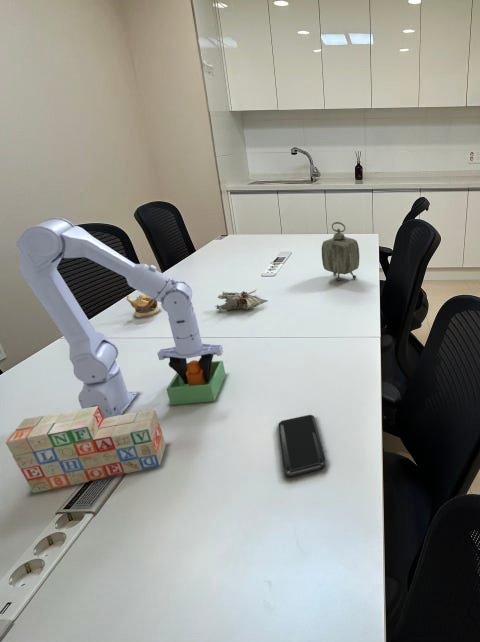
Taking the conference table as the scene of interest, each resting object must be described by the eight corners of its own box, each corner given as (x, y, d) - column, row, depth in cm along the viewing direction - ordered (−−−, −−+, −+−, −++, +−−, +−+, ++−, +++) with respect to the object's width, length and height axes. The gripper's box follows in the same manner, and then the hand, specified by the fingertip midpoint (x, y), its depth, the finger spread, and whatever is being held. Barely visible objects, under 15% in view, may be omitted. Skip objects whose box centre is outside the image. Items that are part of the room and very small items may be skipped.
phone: (284, 474, 71) (278, 421, 84) (285, 478, 72) (278, 425, 85) (326, 463, 73) (314, 413, 86) (327, 468, 74) (314, 417, 87)
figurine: (235, 283, 153) (274, 286, 150) (237, 297, 155) (276, 300, 152) (205, 300, 135) (249, 303, 132) (207, 316, 137) (251, 319, 134)
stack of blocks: (166, 444, 80) (151, 396, 75) (160, 467, 75) (143, 416, 70) (47, 467, 75) (23, 417, 70) (31, 494, 70) (3, 441, 65)
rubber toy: (205, 390, 96) (199, 365, 93) (187, 392, 95) (180, 366, 93) (210, 380, 100) (204, 356, 97) (192, 381, 99) (186, 357, 97)
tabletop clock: (360, 278, 170) (358, 221, 160) (348, 285, 163) (345, 226, 153) (334, 273, 178) (330, 218, 167) (321, 279, 171) (317, 222, 160)
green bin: (214, 401, 93) (210, 385, 91) (170, 404, 92) (166, 389, 91) (225, 375, 103) (222, 360, 102) (186, 378, 103) (182, 363, 101)
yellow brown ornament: (160, 317, 138) (154, 295, 135) (128, 322, 135) (122, 300, 132) (162, 304, 148) (157, 284, 145) (133, 309, 145) (127, 288, 142)
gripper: (221, 323, 96) (231, 369, 101) (160, 327, 95) (173, 374, 100) (214, 336, 89) (224, 385, 95) (148, 341, 88) (163, 390, 94)
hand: (197, 380), depth 97 cm, fingers closed on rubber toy, 4 cm apart
